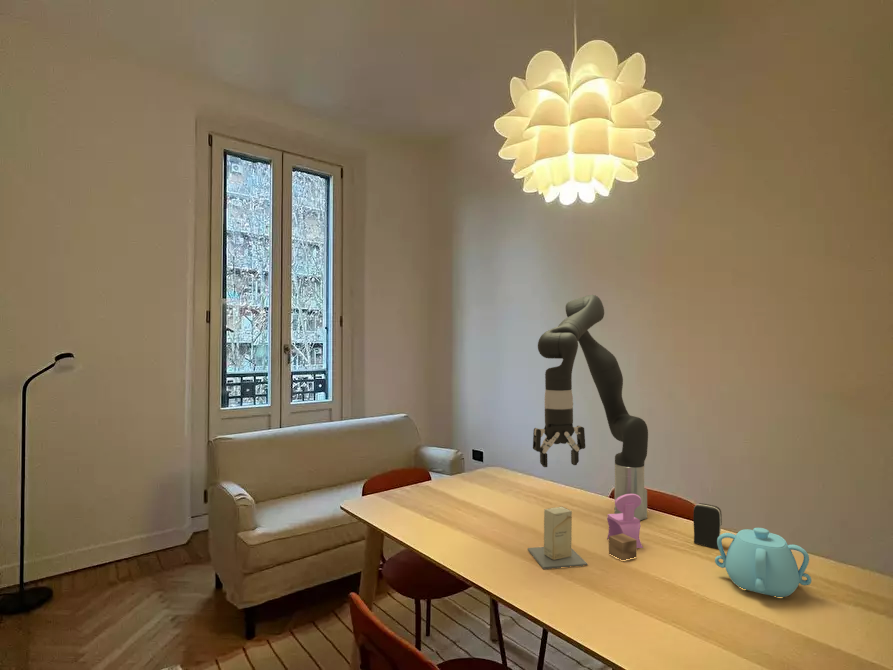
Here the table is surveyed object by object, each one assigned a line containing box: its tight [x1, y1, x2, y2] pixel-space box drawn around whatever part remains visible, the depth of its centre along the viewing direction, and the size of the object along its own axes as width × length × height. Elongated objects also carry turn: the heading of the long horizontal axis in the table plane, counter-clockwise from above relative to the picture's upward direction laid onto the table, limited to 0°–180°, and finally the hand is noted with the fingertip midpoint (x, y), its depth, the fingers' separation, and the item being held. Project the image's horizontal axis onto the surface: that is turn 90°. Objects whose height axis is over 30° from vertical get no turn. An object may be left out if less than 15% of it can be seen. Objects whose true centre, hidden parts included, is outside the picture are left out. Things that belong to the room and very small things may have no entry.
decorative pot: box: [714, 527, 812, 598], centre depth 122 cm, size 16×16×14 cm
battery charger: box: [692, 502, 723, 550], centre depth 146 cm, size 7×4×11 cm, turn 49°
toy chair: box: [606, 494, 644, 549], centre depth 147 cm, size 8×9×15 cm
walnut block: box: [608, 533, 638, 560], centre depth 139 cm, size 5×5×5 cm
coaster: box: [527, 546, 589, 570], centre depth 137 cm, size 12×12×1 cm
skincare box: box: [543, 506, 573, 560], centre depth 137 cm, size 6×4×12 cm
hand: (559, 465), depth 140 cm, fingers open, 8 cm apart
